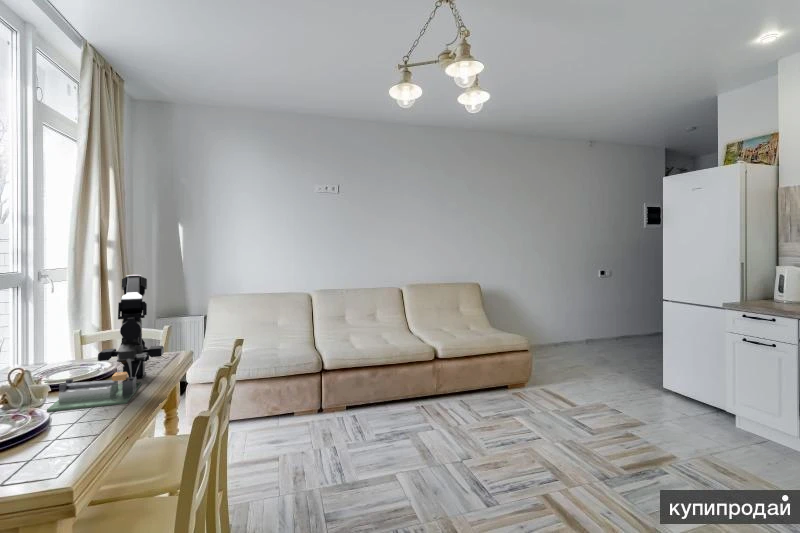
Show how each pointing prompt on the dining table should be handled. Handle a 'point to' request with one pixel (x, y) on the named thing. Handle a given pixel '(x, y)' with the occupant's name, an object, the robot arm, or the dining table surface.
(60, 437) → the dining table surface
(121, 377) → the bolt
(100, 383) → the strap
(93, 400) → the green flat square base
